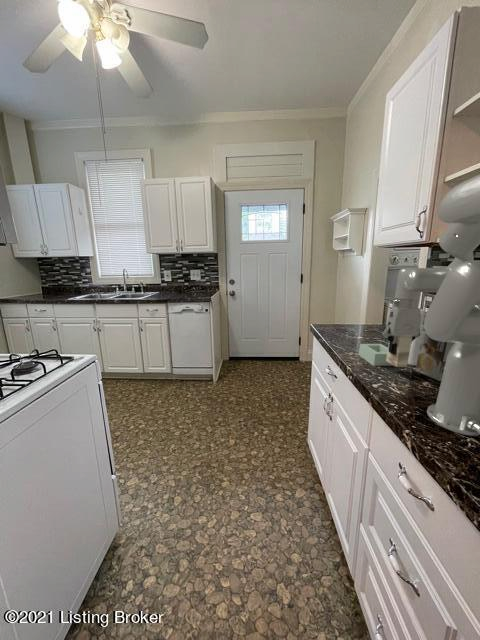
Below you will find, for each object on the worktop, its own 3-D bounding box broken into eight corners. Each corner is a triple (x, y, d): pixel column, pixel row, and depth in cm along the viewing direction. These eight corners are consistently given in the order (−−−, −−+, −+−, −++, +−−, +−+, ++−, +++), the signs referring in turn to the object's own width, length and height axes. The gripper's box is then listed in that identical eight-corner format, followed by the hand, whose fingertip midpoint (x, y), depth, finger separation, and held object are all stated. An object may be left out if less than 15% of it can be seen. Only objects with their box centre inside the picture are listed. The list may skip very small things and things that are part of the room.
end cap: (396, 365, 105) (398, 353, 104) (373, 365, 104) (375, 353, 103) (379, 354, 116) (381, 343, 115) (358, 354, 116) (360, 343, 114)
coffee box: (451, 378, 95) (461, 335, 91) (438, 381, 93) (449, 337, 89) (425, 368, 103) (434, 328, 99) (414, 370, 101) (422, 330, 97)
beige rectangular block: (407, 367, 95) (412, 334, 93) (396, 367, 95) (401, 334, 92) (396, 360, 101) (401, 330, 99) (386, 360, 101) (390, 330, 98)
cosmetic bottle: (400, 358, 112) (409, 307, 106) (415, 360, 111) (426, 308, 106) (406, 364, 106) (416, 311, 101) (422, 366, 105) (434, 311, 100)
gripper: (390, 305, 89) (382, 357, 93) (436, 305, 90) (427, 356, 94) (377, 301, 96) (370, 349, 100) (420, 302, 97) (412, 349, 102)
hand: (398, 352), depth 97 cm, fingers closed on beige rectangular block, 4 cm apart
